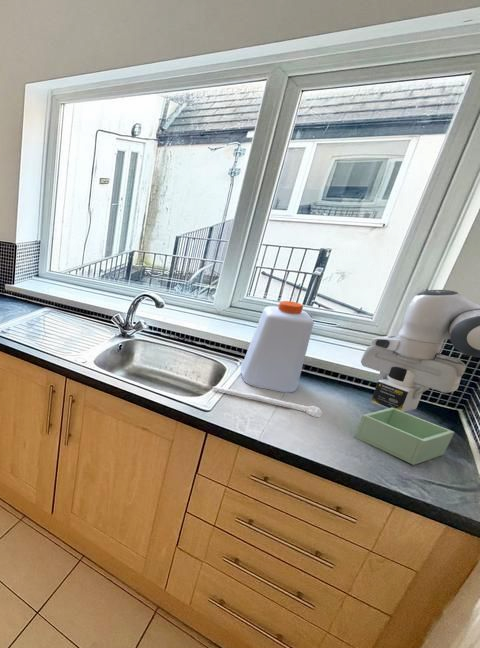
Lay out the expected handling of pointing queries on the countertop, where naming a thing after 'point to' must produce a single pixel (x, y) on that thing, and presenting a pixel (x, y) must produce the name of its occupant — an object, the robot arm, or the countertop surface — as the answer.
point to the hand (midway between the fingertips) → (398, 392)
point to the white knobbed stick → (273, 401)
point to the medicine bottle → (397, 390)
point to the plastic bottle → (278, 348)
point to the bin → (403, 435)
